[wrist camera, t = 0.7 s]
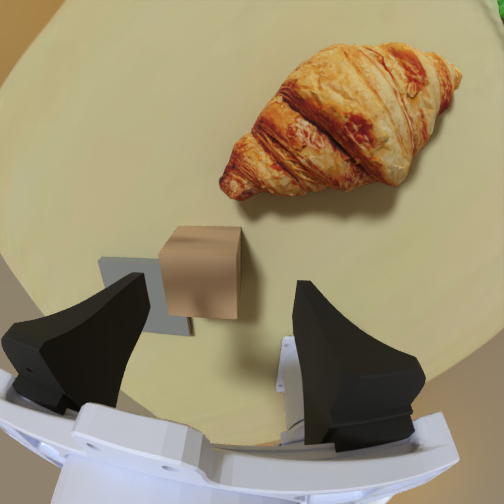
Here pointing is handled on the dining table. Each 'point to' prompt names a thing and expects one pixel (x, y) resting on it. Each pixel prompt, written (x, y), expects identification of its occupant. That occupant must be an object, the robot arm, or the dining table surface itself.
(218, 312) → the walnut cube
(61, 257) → the dining table surface
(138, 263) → the slate coaster
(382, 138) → the croissant
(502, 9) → the fruit basket
